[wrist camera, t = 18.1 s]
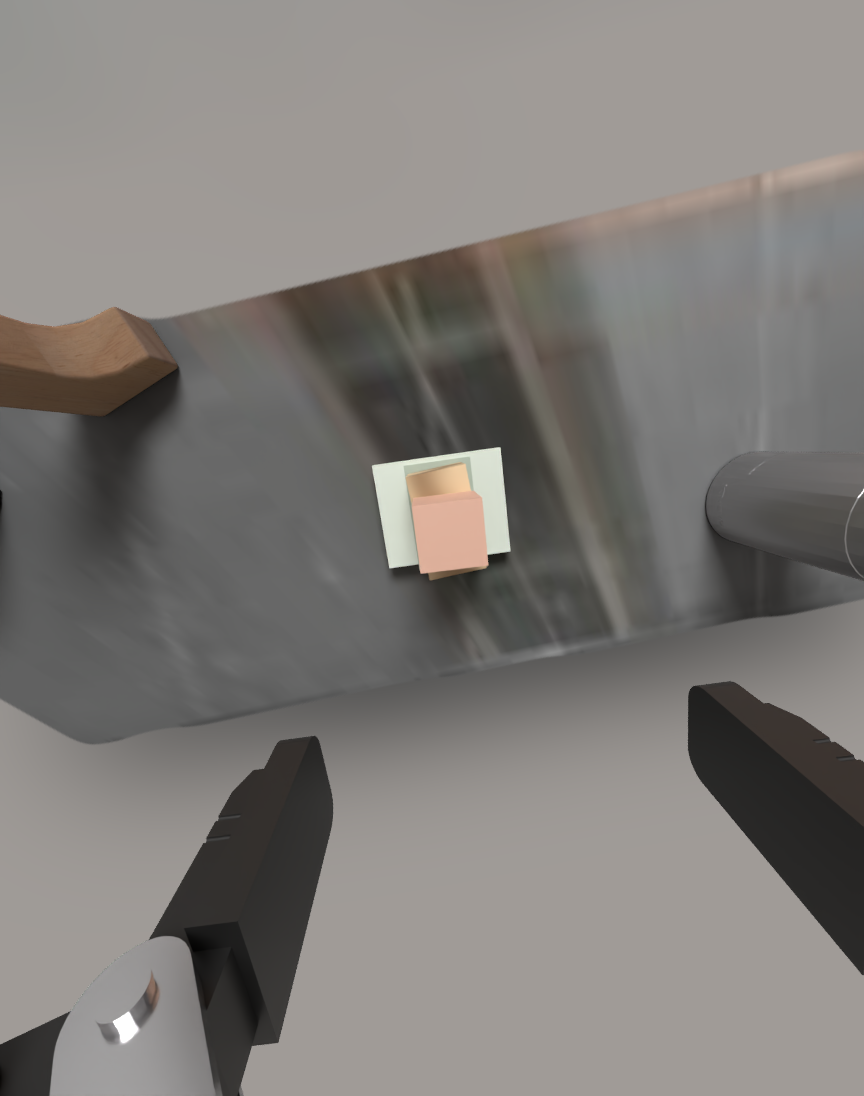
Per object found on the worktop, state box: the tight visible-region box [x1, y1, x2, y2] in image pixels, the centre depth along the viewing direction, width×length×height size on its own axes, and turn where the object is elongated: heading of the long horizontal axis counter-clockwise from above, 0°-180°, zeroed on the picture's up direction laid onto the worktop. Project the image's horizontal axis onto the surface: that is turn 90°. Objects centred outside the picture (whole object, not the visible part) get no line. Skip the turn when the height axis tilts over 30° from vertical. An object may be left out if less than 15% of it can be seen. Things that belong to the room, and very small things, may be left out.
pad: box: [372, 448, 510, 570], centre depth 40 cm, size 12×11×2 cm
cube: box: [412, 491, 488, 574], centre depth 32 cm, size 5×5×5 cm
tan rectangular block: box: [406, 462, 486, 580], centre depth 37 cm, size 5×9×5 cm, turn 13°
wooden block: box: [0, 307, 178, 416], centre depth 29 cm, size 9×4×18 cm, turn 120°
